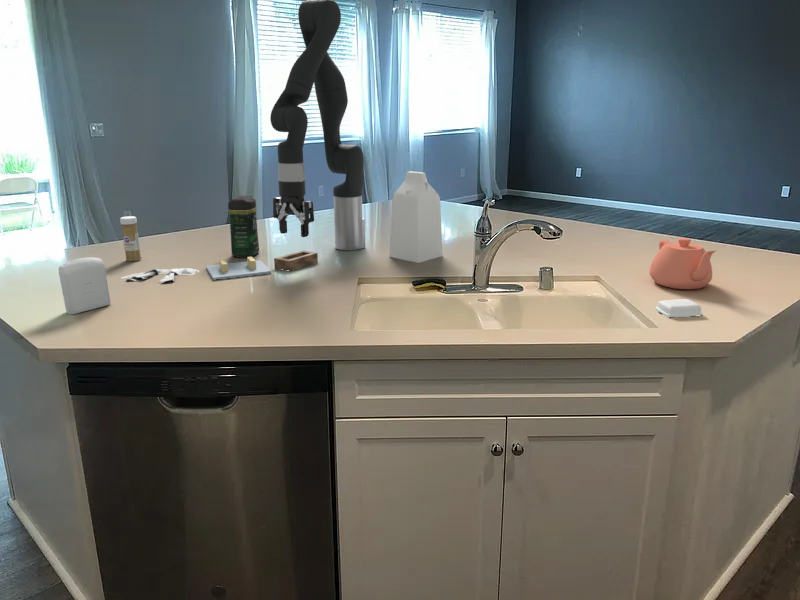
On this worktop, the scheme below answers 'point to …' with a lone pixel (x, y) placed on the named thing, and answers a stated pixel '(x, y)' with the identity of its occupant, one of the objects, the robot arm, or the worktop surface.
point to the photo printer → (84, 284)
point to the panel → (237, 269)
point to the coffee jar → (243, 226)
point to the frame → (295, 260)
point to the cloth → (168, 278)
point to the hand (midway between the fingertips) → (294, 234)
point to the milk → (416, 220)
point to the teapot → (681, 265)
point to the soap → (678, 308)
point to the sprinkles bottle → (130, 238)
